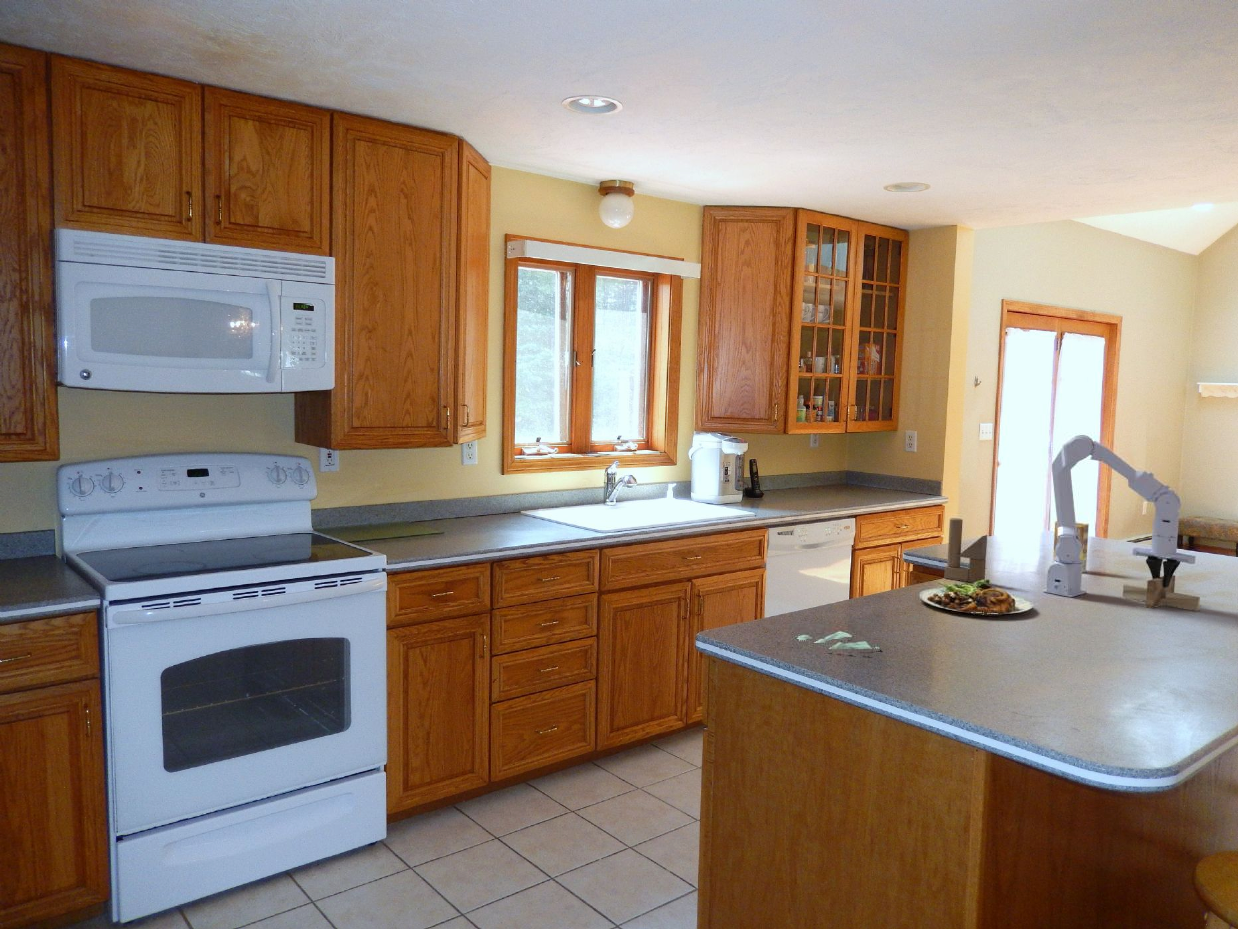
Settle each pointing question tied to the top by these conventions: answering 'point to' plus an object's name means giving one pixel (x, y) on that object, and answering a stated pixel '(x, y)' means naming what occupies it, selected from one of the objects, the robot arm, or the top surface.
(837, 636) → the cloth
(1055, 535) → the candy box
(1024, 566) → the top surface
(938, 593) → the plate of food
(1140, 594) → the birch board
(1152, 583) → the wooden plank
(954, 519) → the wooden block
